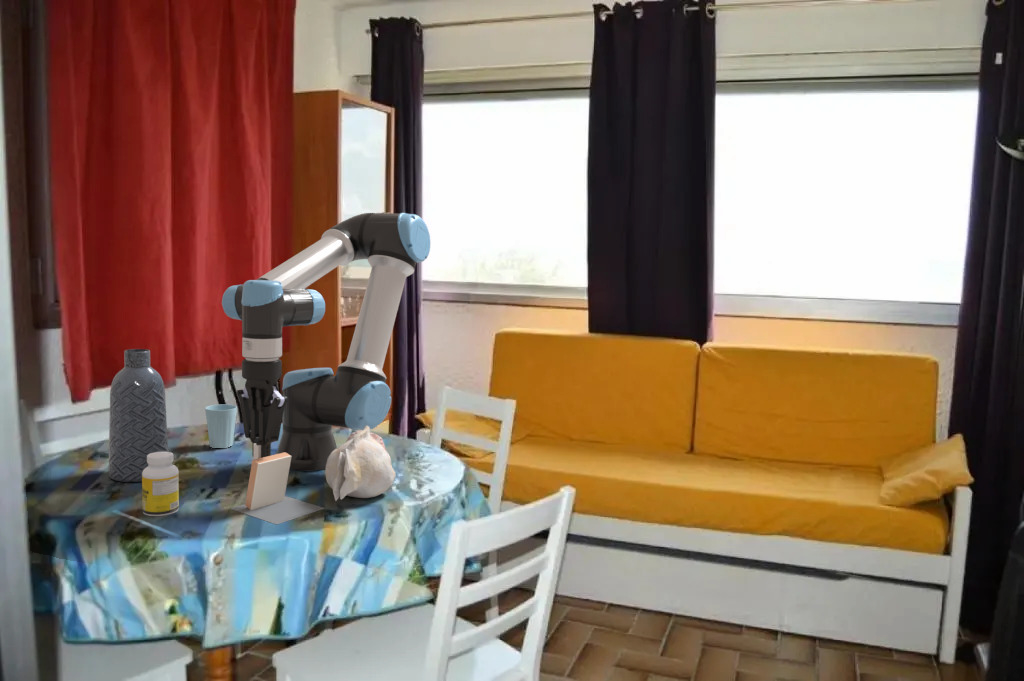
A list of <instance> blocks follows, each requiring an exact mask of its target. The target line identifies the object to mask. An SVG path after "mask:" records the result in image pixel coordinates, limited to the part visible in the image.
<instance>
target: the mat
mask: <svg viewBox="0 0 1024 681" xmlns="http://www.w3.org/2000/svg"><path fill="white" fill-rule="evenodd" d="M325 509H326V508H325V507H323V506H318V505H316V504H312V503H309V502H305V501H303V500H299V499H297V498H293V497H289V496H286V495H285V497H284V500H283V501H280V502H277V503H274V504H270V505H267V506H264V507H260V508H257V509H254V510H250V509H249V508H247V507H246V506H245V503H244V504H240V505H237V506H234V507H230V508H229V510H232V511H235V512H238V513H242V514H244V515H246V516H247V515H248V516H250V517H252V518H255V519H259V520H262V521H265V522H267V523H271V524H273V525H277V526H278V525H280V524H283V523H286V522H289V521H291V520H295V519H299V518H301V517H305V516H307V515H311V514H313V513H315V512H318V511H319V512H320V511H322V510H325Z"/></svg>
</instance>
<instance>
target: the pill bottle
mask: <svg viewBox="0 0 1024 681" xmlns="http://www.w3.org/2000/svg"><path fill="white" fill-rule="evenodd" d="M174 458H175V457H174V453H173V452H171V451H168V452H154V453H150V454H148V455H147V463H148V467H146V468H145V469H144V470H143V472H142V481H141V487H142V488H141V493H142V496H141V497H142V498H141V499H142V504H141V505H142V513H143V515H145V516H149V517H160V516H161V517H162V516H167V515H168V516H169V515H171V514H174V513H176V512H179V509H180V503H179V498H180V497H179V496H180V494H179V491H180V490H179V488H180V486H179V481H180V480H179V479H180V478H179V473H180V472H179V469H178V467H177V466H176V465H174V464H173V462H174Z"/></svg>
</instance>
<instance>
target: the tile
mask: <svg viewBox="0 0 1024 681" xmlns="http://www.w3.org/2000/svg"><path fill="white" fill-rule="evenodd" d="M275 454H276V453H275ZM275 454H272V455H271V456H267V457H263V458H259V459H255V460H253V459H251V467H250V474H249V478H248V479H249V480H248V485H247V492H246V497H245V502H244V504H245V506H246V507H247V508H249V509H250V510H254V509H257V508H260V507H264V506H267V505H270V504H274V503H277V502H280V501H283V500H284V497H285V496H286V490H287V485H288V480H289V479H288V478H289V472H290V469H289V468H290V462H291V457H292V456H291V455H289V454H287V453H286V452H284V453H280V454H276V455H275Z"/></svg>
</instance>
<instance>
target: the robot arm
mask: <svg viewBox="0 0 1024 681" xmlns="http://www.w3.org/2000/svg"><path fill="white" fill-rule="evenodd" d="M430 251H431V235H430V231H429V229H428V226H427V224H426V222H425V221H424V219H423V218H422V217H421V216H419V215H418V214H415V213H407V212H400V213H396V212H395V213H394V212H393V213H386V212H385V213H384V212H383V213H378V212H365V213H361V214H357V215H355V216H354V215H353V216H352V217H349V218H347V219H345V220H343V221H341V222H339V223H337V224H336V225H333V226H332V227H330V228H329V229H327V230H325V231H324V232H323V233H322V235H321V237H320V239H319V240H317V241H316V242H314V243H313V244H311V245H309V246H308V247H306V248H304V249H302V250H301V251H300V252H298V253H297V254H294V256H292V257H290V258H289V259H287V260H286V261H283V263H281V264H279V265H278V266H276V267H275V268H272V269H271V270H269V271H268V272H267V273H265V274H262V275H261V276H260V277H258V278H257V279H249V280H246V281H245V282H244V283H243V284H236V285H231V286H229V287H227V289H226V290H225V291H224V293H223V295H222V299H221V306H222V309H223V312H224V314H225V316H227V317H229V318H231V319H233V320H238V321H241V322H242V323H241V329H242V339H241V340H242V346H241V347H242V348H241V349H242V353H241V354H242V355H241V356H242V357H243V360H242V361H241V377H242V378H243V379H245V380H246V381H245V384H244V387H243V388H242V389H238V390H237V391H236V395H237V398H238V399H239V404H240V412H241V419H242V424H243V432H244V437H245V439H249V440H250V442H251V443H252V445H251V446H252V448H251V449H252V453H251V454H252V460H255V459H259V458H263V457H267V456H271V453H272V452H271V450H272V449H271V448H272V447H271V445H272V443H275V442H278V441H279V442H278V446H277V449H276V450H277V451H276V452H275V454H274V455H276V454H280V453H284V452H286V453H287V454H289V455H291V456H292V457H291V462H290V468H289V470H293V471H297V472H312V471H321V470H326V464H327V459H328V457H329V455H330V454H331V452H333V451H334V450H335V449H337V448H338V447H337V442H336V440H335V436H334V433H333V427H334V426H335V427H341V428H345V429H346V428H347V429H351V430H353V431H358V430H360V431H362V430H364V428H365V426H366V425H367V426H368V427H369V428H370V431H371V430H373V429H375V428H377V426H379V425H381V424H382V423H383V422H384V420H385V419H386V418H387V415H388V413H389V410H390V408H391V405H392V396H391V394H392V393H391V389H390V387H389V385H388V384H387V383H386V382H387V376H386V374H385V373H384V371H383V368H384V364H385V360H386V357H387V356H386V355H387V354H388V348H389V344H390V341H391V338H392V334H393V329H394V326H395V322H396V318H397V313H398V311H399V306H400V302H401V298H402V295H403V290H404V286H405V284H406V283H405V282H406V280H407V277H409V276H411V275H413V274H414V273H415V270H416V266H417V263H418V264H419V263H420V264H421V263H422V262H425V261H426V260H427V258H428V256H429V255H430ZM358 260H367V262H368V264H369V265H370V267H371V270H370V273H369V277H368V281H367V284H366V288H365V292H364V296H363V300H362V303H361V306H360V311H359V314H358V318H357V321H356V324H355V328H354V332H353V336H352V339H351V343H350V346H349V350H348V354H347V358H346V360H345V361H344V362H343V363H340V364H339V365H337V370H336V372H335V375H334V371H333V369H332V368H331V367H313V368H305V369H302V368H301V369H295V370H291V371H288V372H287V373H285V374H284V375H283V379H282V388H281V391H282V393H280V387H279V384H278V380H280V379H281V378H282V374H283V373H282V371H283V368H282V366H283V364H282V363H283V361H282V360H281V359H280V358H281V357H282V356H283V328H284V327H295V326H305V327H306V326H309V325H314V324H316V323H319V322H320V321H321V320H322V319H323V318H324V316H325V312H326V302H325V299H324V297H323V295H322V294H321V293H320V292H318V291H317V290H315V289H309V288H308V287H309V286H311V285H312V284H314V283H315V282H316V281H318V280H319V279H321V278H322V277H324V276H325V275H327V274H329V273H330V272H331V271H333V270H334V269H336V268H338V267H339V266H341V267H344V266H347V265H349V264H350V263H352V262H354V261H358ZM281 427H282V434H280V433H281ZM280 435H281V436H280ZM279 438H280V439H279Z"/></svg>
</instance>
